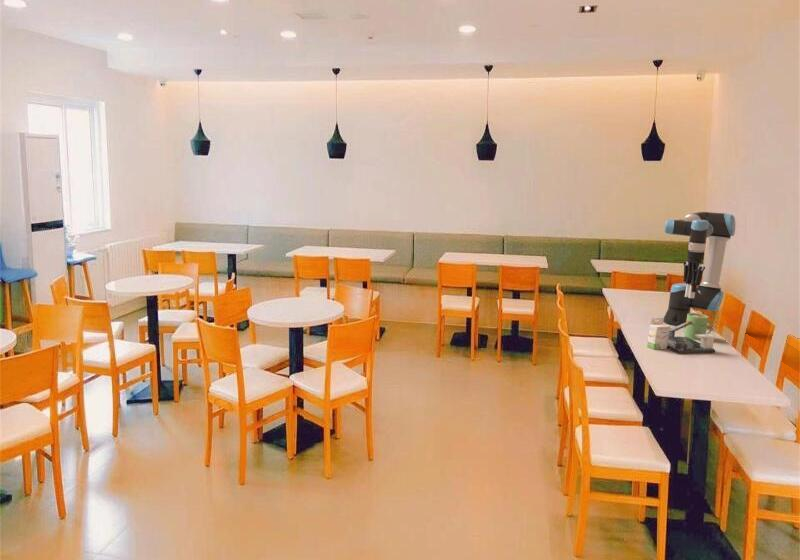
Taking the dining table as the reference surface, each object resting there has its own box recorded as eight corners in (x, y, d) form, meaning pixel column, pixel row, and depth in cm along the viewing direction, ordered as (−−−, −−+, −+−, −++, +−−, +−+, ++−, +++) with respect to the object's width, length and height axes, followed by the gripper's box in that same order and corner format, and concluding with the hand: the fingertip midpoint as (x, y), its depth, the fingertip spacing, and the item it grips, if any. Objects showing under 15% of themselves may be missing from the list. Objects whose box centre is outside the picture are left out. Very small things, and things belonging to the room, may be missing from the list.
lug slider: (706, 346, 310) (708, 334, 309) (712, 348, 306) (714, 336, 305) (692, 346, 308) (694, 334, 307) (698, 348, 304) (700, 336, 303)
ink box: (654, 349, 306) (658, 320, 303) (646, 346, 310) (650, 318, 307) (667, 348, 309) (671, 319, 306) (659, 345, 313) (663, 317, 310)
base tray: (685, 339, 326) (687, 327, 325) (714, 353, 305) (716, 340, 304) (651, 340, 322) (653, 328, 320) (678, 353, 301) (680, 341, 299)
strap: (670, 333, 320) (669, 331, 321) (693, 323, 303) (692, 321, 304) (665, 333, 320) (665, 331, 320) (688, 323, 303) (687, 321, 303)
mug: (684, 338, 328) (688, 316, 326) (683, 333, 338) (686, 312, 335) (711, 342, 324) (714, 319, 321) (709, 336, 333) (712, 315, 331)
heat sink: (679, 341, 317) (680, 336, 317) (689, 346, 309) (690, 340, 309) (665, 341, 315) (666, 336, 315) (675, 346, 308) (676, 341, 307)
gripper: (679, 248, 315) (673, 293, 319) (699, 253, 300) (692, 301, 305) (692, 248, 316) (686, 293, 321) (713, 253, 302) (706, 301, 306)
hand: (689, 297), depth 313 cm, fingers open, 2 cm apart
